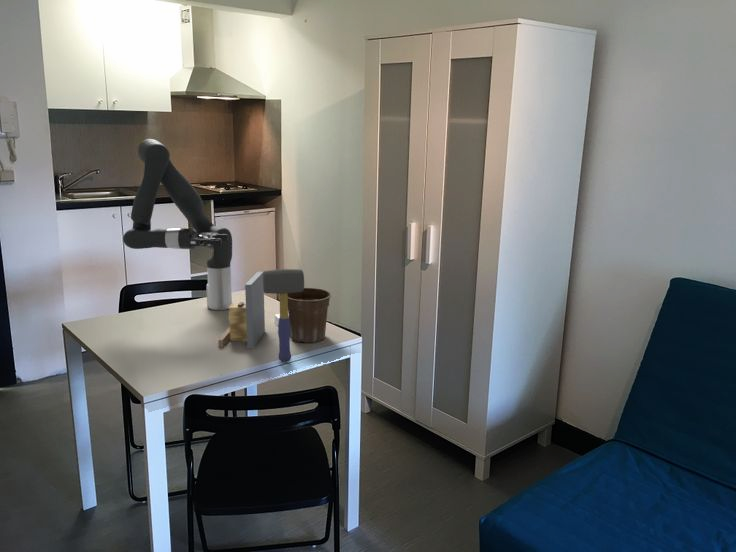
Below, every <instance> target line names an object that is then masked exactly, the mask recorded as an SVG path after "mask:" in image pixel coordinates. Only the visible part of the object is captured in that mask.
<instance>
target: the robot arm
mask: <svg viewBox="0 0 736 552" xmlns="http://www.w3.org/2000/svg"><path fill="white" fill-rule="evenodd" d="M137 153H138V156H139V159H140V160H141V162H142V163H144V168H143V170H144V171H143V177H142V181H141V184H140V186H139V188H138V189H137V191H136V194H135V195H134V199H133V202H132V203H133V204H132V207H131V212H130V219H131V220H132V228H131V229H128V230H127V231H125V232H124V234H123V237H122V241H123V244H124V245H125V247H128V248H130V249H133V250H134V249H135V250H143V249H151V248H158V249H159V248H160V249H163V248H164V249H174V250H194V249H195V248H196V247H205V248H208V249H210V250H212V257H209V258H207V260H206V272H207V274H206V275H207V284H206V285H205V286H206V305H207V306H206V307H207V308H208V309H210V310H213V311H223V310H229V307H230V306H231V305H232V304H233V295H232V293H233V291H232V271H231V269H232V268H231V262H232V259H233V236H232V233H231V231H230V229H228V228H226V227H222V226H216V225H214V224H213V223H212V221H211V220H210V219H209V217H208V216H207V214H206V212H205V207H204V202H203V199H202V197H201V196H200V194H199V193H198V191H197V190H196V189H195V187H194V186H193V185H192V184H191V182H190V181H189V180H188V179H187V178H186V177H185V176H184V175H183V174H182V173H181V171H179V170H178V169H177V168H176V166H175V165H174V164H173V162H172V161H171V159H170V158H171V155H170V151H169V149H168V148H167V147H166V145H164V144H163V143H161V142H160V141H158V140H156V139H153V138H146V139H144V140H141V142H140V143H139V144H138V147H137ZM160 185H161V186H162V187H163V188H164V190H165V191H166V194H167V195H168V196H169V198H170V199H171V201H172V202H173V203H174V204H175V206H176V208H178V210H179V211H180V213H182V215H183V216H184V218H185V219H186V220H187V221H188V222H189V223H190V226H191V227H192V228H186V227H185V228H184V227H183V228H182V227H180V228H177V227H176V228H175V227H173V228H154V229H152V226H151V225H152V221H151V220H152V216H153V211H154V206H155V203H156V199H157V196H158V195H157V194H158V190H159V187H160Z"/></svg>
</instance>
